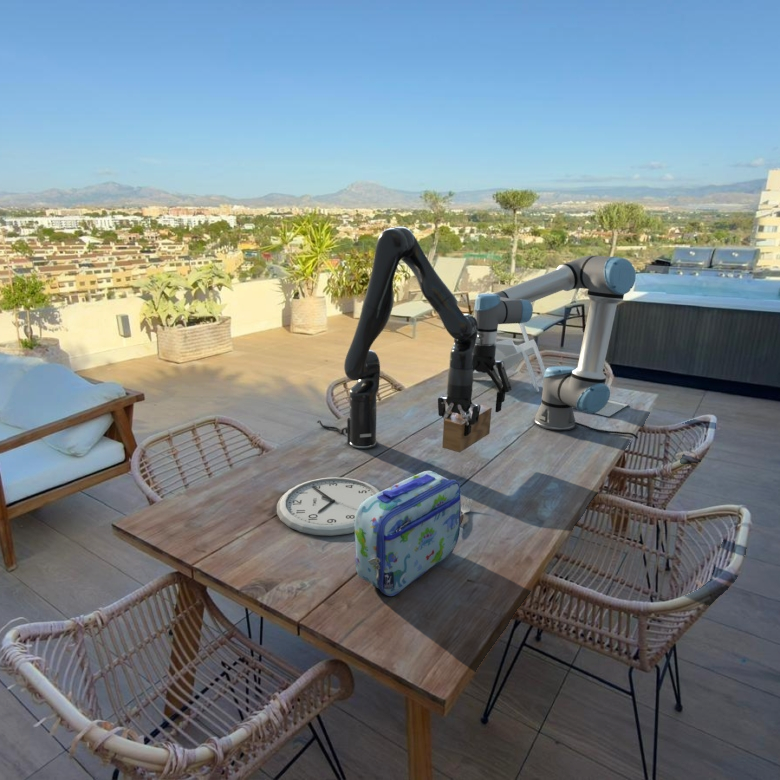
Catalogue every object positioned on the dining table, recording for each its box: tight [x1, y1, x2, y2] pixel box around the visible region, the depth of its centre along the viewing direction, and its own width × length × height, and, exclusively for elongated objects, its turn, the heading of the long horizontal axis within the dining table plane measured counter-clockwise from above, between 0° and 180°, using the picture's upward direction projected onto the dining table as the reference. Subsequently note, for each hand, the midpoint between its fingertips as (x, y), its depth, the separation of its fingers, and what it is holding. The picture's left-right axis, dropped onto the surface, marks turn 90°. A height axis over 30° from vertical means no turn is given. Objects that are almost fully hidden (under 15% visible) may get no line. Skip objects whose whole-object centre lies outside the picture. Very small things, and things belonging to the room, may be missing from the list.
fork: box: [460, 497, 473, 526], centre depth 137 cm, size 3×16×2 cm, turn 160°
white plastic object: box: [473, 323, 546, 392], centre depth 256 cm, size 37×45×31 cm
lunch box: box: [354, 470, 462, 597], centre depth 113 cm, size 26×11×21 cm, turn 134°
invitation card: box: [595, 399, 629, 418], centre depth 226 cm, size 21×1×15 cm
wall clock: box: [276, 476, 382, 537], centre depth 142 cm, size 30×2×30 cm
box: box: [441, 403, 492, 453], centre depth 168 cm, size 20×6×9 cm, turn 143°
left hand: (456, 432), depth 163 cm, fingers closed on box, 6 cm apart
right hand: (479, 406), depth 172 cm, fingers open, 13 cm apart
